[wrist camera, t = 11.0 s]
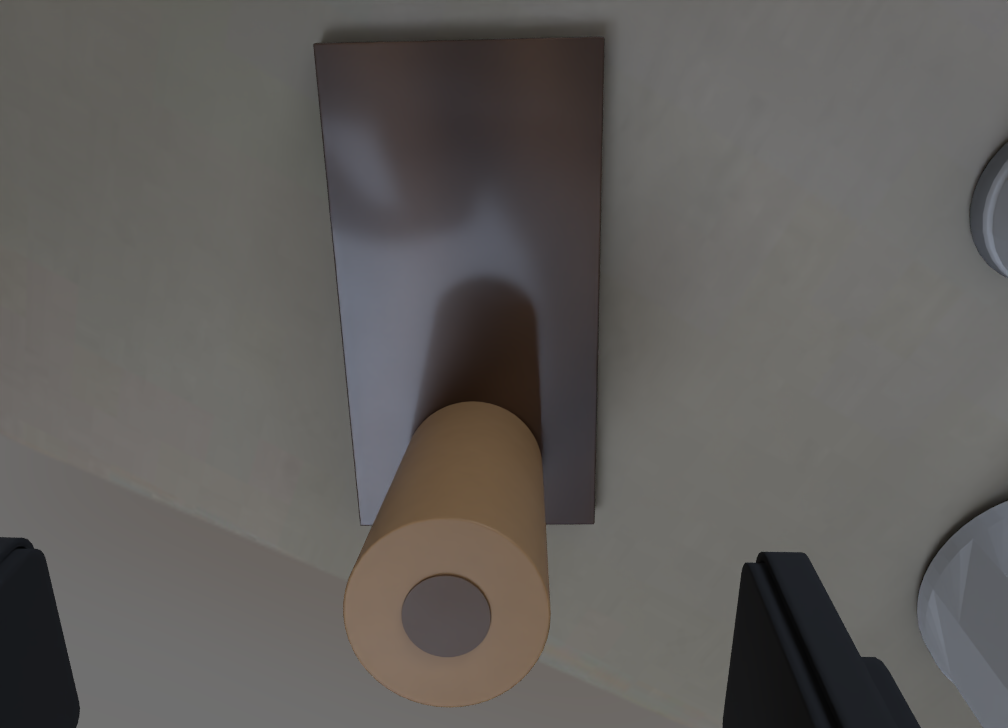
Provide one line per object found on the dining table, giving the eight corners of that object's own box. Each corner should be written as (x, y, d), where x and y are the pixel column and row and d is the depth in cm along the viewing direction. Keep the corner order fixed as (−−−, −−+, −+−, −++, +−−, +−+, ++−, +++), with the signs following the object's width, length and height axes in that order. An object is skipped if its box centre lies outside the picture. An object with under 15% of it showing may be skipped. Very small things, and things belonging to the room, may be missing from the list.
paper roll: (402, 401, 34) (408, 532, 35) (336, 519, 22) (347, 710, 23) (542, 400, 34) (542, 531, 35) (550, 518, 22) (551, 710, 23)
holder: (364, 513, 37) (359, 526, 36) (319, 42, 30) (312, 43, 29) (592, 512, 37) (594, 524, 36) (602, 36, 30) (604, 36, 29)
